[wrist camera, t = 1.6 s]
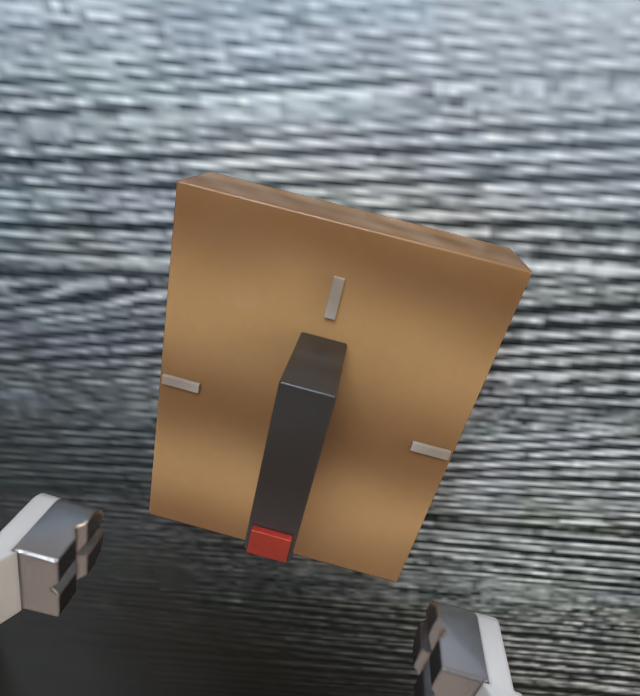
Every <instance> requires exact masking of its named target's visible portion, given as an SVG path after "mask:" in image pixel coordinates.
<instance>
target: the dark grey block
mask: <svg viewBox="0 0 640 696" xmlns="http://www.w3.org/2000/svg"><path fill="white" fill-rule="evenodd" d="M346 350H347V344H346V343H343V342H339V341H335V340H331V339H327V338H324V337H320V336H316V335H312V334H308V333H305V332H302V333H301V334H300V336H299V338H298V341H297V343H296V345H295V347H294V350H293V352H292V354H291V356H290V359H289V361H288V363H287V365H286V368H285V370H284V372H283V374H282V377H281V379H280V381H279V384H278V389H277V394H276V398H275V403H274V408H273V412H272V417H271V422H270V426H269V431H268V436H267V440H266V445H265V450H264V454H263V459H262V464H261V468H260V473H259V478H258V482H257V487H256V492H255V496H254V501H253V506H252V510H251V515H250V520H249V524H248V529H247V534H246V538H245V543H244V548H245V549H247V552H248V553H252V554H255V555H259V556H263V557H266V558H270V559H273V560H277V561H281V562H284V563H285V562H286V560H287V561H290V560H291V558H292V554H293V551H294V547H295V544H296V540H297V537H298V533H299V529H300V526H301V522H302V519H303V515H304V512H305V508H306V505H307V501H308V498H309V494H310V490H311V487H312V483H313V480H314V476H315V473H316V469H317V466H318V462H319V459H320V455H321V451H322V448H323V444H324V441H325V437H326V434H327V430H328V427H329V423H330V419H331V416H332V412H333V409H334V405H335V402H336V398H337V394H338V389H339V384H340V379H341V374H342V369H343V365H344V360H345V355H346Z"/></svg>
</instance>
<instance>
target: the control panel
mask: <svg viewBox="0 0 640 696" xmlns="http://www.w3.org/2000/svg"><path fill="white" fill-rule="evenodd" d="M531 274H532V271H531V270H530V269H529V268H528V267H527V266H526V265H525V264H524V263H523V261H522V260H521V259H520V258H519V257H518V256H517V255H516V254H515V253H514V252H513V251H512V250H511V249H510V248H508V247H504V246H500V245H496V244H492V243H488V242H484V241H480V240H476V239H472V238H468V237H464V236H461V235H457V234H453V233H449V232H445V231H441V230H437V229H433V228H429V227H425V226H421V225H417V224H414V223H410V222H406V221H402V220H398V219H394V218H390V217H386V216H382V215H378V214H374V213H370V212H367V211H363V210H359V209H355V208H351V207H347V206H343V205H339V204H335V203H331V202H327V201H323V200H320V199H316V198H312V197H308V196H304V195H300V194H296V193H292V192H288V191H284V190H280V189H276V188H273V187H269V186H265V185H261V184H257V183H253V182H249V181H245V180H241V179H237V178H233V177H229V176H226V175H222V174H218V173H214V172H209V173H205V174H202V175H198V176H194V177H190V178H186V179H182V180H178V182H177V188H176V200H175V212H174V224H173V236H172V248H171V259H170V271H169V283H168V295H167V307H166V318H165V330H164V342H163V354H162V366H161V378H160V389H159V401H158V413H157V425H156V437H155V448H154V460H153V472H152V484H151V496H150V507H149V513H150V514H152V515H156V516H160V517H163V518H167V519H170V520H174V521H178V522H181V523H185V524H188V525H192V526H196V527H199V528H203V529H206V530H210V531H214V532H217V533H221V534H224V535H228V536H232V537H235V538H239V539H242V540H245V538H246V534H247V529H248V524H249V520H250V515H251V510H252V506H253V501H254V496H255V492H256V487H257V482H258V478H259V473H260V468H261V464H262V459H263V454H264V450H265V445H266V440H267V436H268V431H269V426H270V422H271V417H272V412H273V408H274V403H275V398H276V394H277V389H278V384H279V381H280V379H281V377H282V374H283V372H284V370H285V368H286V365H287V363H288V361H289V359H290V356H291V354H292V352H293V350H294V347H295V345H296V343H297V341H298V338H299V336H300V334H301V333H302V332H305V333H308V334H312V335H316V336H320V337H324V338H327V339H331V340H335V341H339V342H343V343H346V344H347V350H346V355H345V360H344V365H343V369H342V374H341V379H340V384H339V389H338V394H337V398H336V402H335V405H334V409H333V412H332V416H331V419H330V423H329V427H328V430H327V434H326V437H325V441H324V444H323V448H322V451H321V455H320V459H319V462H318V466H317V469H316V473H315V476H314V480H313V483H312V487H311V490H310V494H309V498H308V501H307V505H306V508H305V512H304V515H303V519H302V522H301V526H300V529H299V533H298V537H297V540H296V544H295V547H294V551H293V554H296V555H300V556H304V557H307V558H311V559H314V560H318V561H322V562H325V563H329V564H332V565H336V566H340V567H343V568H347V569H350V570H354V571H358V572H361V573H365V574H368V575H372V576H376V577H379V578H383V579H386V580H390V581H394V582H396V581H397V580H398V578H399V575H400V573H401V571H402V568H403V566H404V564H405V562H406V559H407V557H408V555H409V552H410V550H411V548H412V546H413V543H414V541H415V539H416V536H417V534H418V532H419V530H420V527H421V525H422V523H423V520H424V518H425V516H426V514H427V511H428V509H429V507H430V504H431V502H432V500H433V498H434V495H435V493H436V491H437V489H438V486H439V484H440V482H441V479H442V477H443V475H444V473H445V470H446V468H447V466H448V463H449V461H450V459H451V457H452V454H453V452H454V450H455V447H456V445H457V443H458V441H459V438H460V436H461V434H462V431H463V429H464V427H465V425H466V422H467V420H468V418H469V415H470V413H471V411H472V409H473V406H474V404H475V402H476V399H477V397H478V395H479V393H480V390H481V388H482V386H483V383H484V381H485V379H486V377H487V374H488V372H489V370H490V367H491V365H492V363H493V361H494V358H495V356H496V354H497V351H498V349H499V347H500V345H501V342H502V340H503V338H504V335H505V333H506V331H507V329H508V326H509V324H510V322H511V319H512V317H513V315H514V313H515V310H516V308H517V306H518V303H519V301H520V299H521V297H522V294H523V292H524V290H525V287H526V285H527V283H528V281H529V278H530V276H531Z"/></svg>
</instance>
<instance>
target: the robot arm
mask: <svg viewBox="0 0 640 696" xmlns="http://www.w3.org/2000/svg"><path fill="white" fill-rule="evenodd" d="M102 522H103V511H101V510H98V509H95V508H92V507H88V506H85V505H82V504H79V503H75V502H72V501H69V500H65V499H62V498H58V497H55V496H52V495H48V494H45V493H41V494H39V495H37V496H35V497H34V498H33V499H32V500H31V501H30V502H29V503H28V504H27V505H26V506H25V507H24V508H23V509H22V510H21V511H20V512H19V513H18V514H17V515H16V516H15V517H14V518H13V519H12V520H11V521H10V522H9V523H8V524H7V525H6V526H5V527H4V528H3V529H2V530H1V531H0V624H1V623H2V622H4V621H6V620H7V619H9V618H10V617H12V616H13V615H15V614H16V613H18V612H19V611H21V610H22V608H25V609H29V610H33V611H37V612H41V613H45V614H49V615H53V616H57V617H58V616H59V615H60V614H61V612H62V611H63V609H64V608H65V606H66V605H67V603H68V602H69V601H70V599H71V598H72V596H73V595H74V593H75V592H76V580H78V579H80V578H82V577H84V576H85V575H87V574H88V573H89V571H90V570H91V568H92V567H93V565H94V564H95V561H96V559H97V557H98V555H99V553H100V550H101V546H102V540H103V534H102V533H101V531H100V530H99V526H100V525H101V523H102ZM426 617H427V619H426V620H424V621H422V622H420V624H419V626H418V629H417V631H416V635H415V639H414V644H413V666H414V668H415V669H416V671H417V673H418V674H419V677H418V679H417V681H416V683H415V685H414V695H415V696H522V694H521V693H518V692H515V691H514V688H513V684H512V679H511V675H510V671H509V666H508V662H507V657H506V653H505V648H504V644H503V640H502V635H501V631H500V626H499V622H498V621H497V619H496V618H494V617H490V616H487V615H483V614H479V613H476V612H473V611H470V610H466V609H462V608H459V607H455V606H451V605H447V604H443V603H439V602H436V601H432V602H431V603H430V604H429V606H428V608H427V609H426Z"/></svg>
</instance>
